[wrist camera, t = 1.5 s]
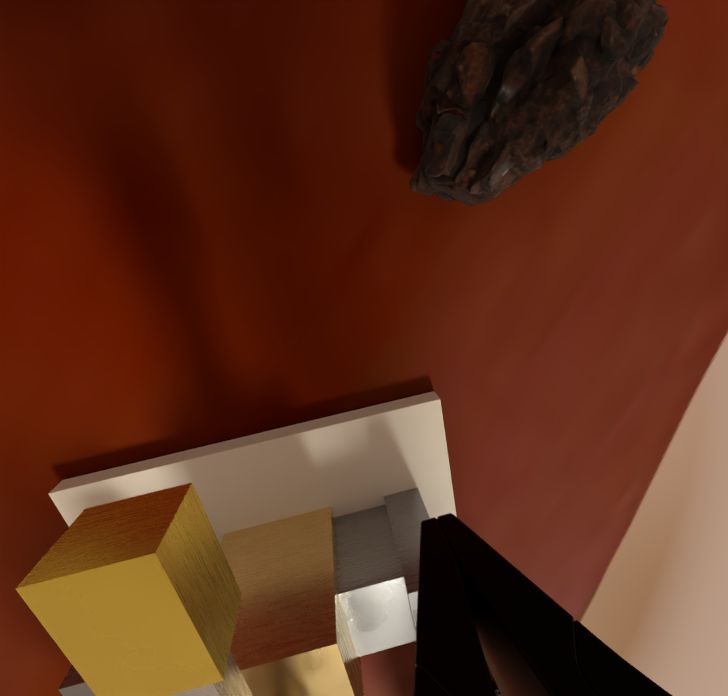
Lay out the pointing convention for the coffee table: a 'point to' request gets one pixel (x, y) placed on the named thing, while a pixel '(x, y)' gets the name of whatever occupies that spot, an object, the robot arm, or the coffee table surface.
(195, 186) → the coffee table surface
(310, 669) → the blocks
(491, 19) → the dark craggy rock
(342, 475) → the mounting board
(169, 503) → the valve lever
